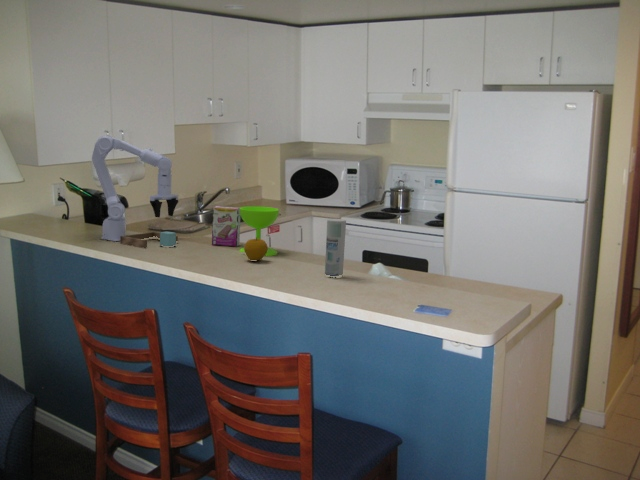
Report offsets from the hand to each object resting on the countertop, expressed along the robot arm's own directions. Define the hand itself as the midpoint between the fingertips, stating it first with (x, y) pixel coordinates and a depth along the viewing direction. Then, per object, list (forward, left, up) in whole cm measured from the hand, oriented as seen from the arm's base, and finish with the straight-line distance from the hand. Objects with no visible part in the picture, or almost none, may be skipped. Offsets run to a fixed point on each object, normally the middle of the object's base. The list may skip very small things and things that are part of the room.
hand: (164, 216), depth 288 cm
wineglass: (+46, +8, -11) cm, 48 cm away
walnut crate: (+2, -10, -10) cm, 15 cm away
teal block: (+13, -10, -10) cm, 19 cm away
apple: (+57, -7, -11) cm, 58 cm away
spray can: (+93, -8, -11) cm, 94 cm away
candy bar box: (+26, +11, -11) cm, 30 cm away
